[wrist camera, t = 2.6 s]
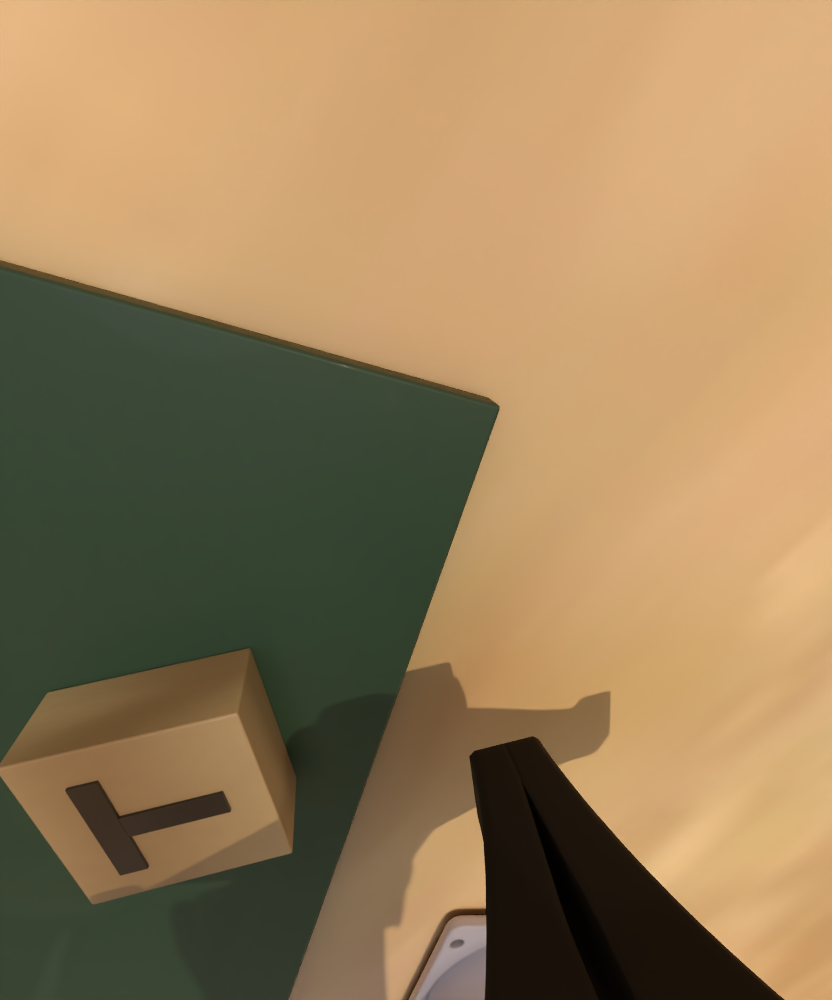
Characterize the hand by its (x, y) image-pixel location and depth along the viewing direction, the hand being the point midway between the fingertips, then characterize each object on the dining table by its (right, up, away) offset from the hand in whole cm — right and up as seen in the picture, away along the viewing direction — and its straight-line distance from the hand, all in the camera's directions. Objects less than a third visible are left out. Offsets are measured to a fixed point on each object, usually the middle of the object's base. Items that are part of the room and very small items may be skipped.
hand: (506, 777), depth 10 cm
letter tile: (-8, 0, +2) cm, 8 cm away
